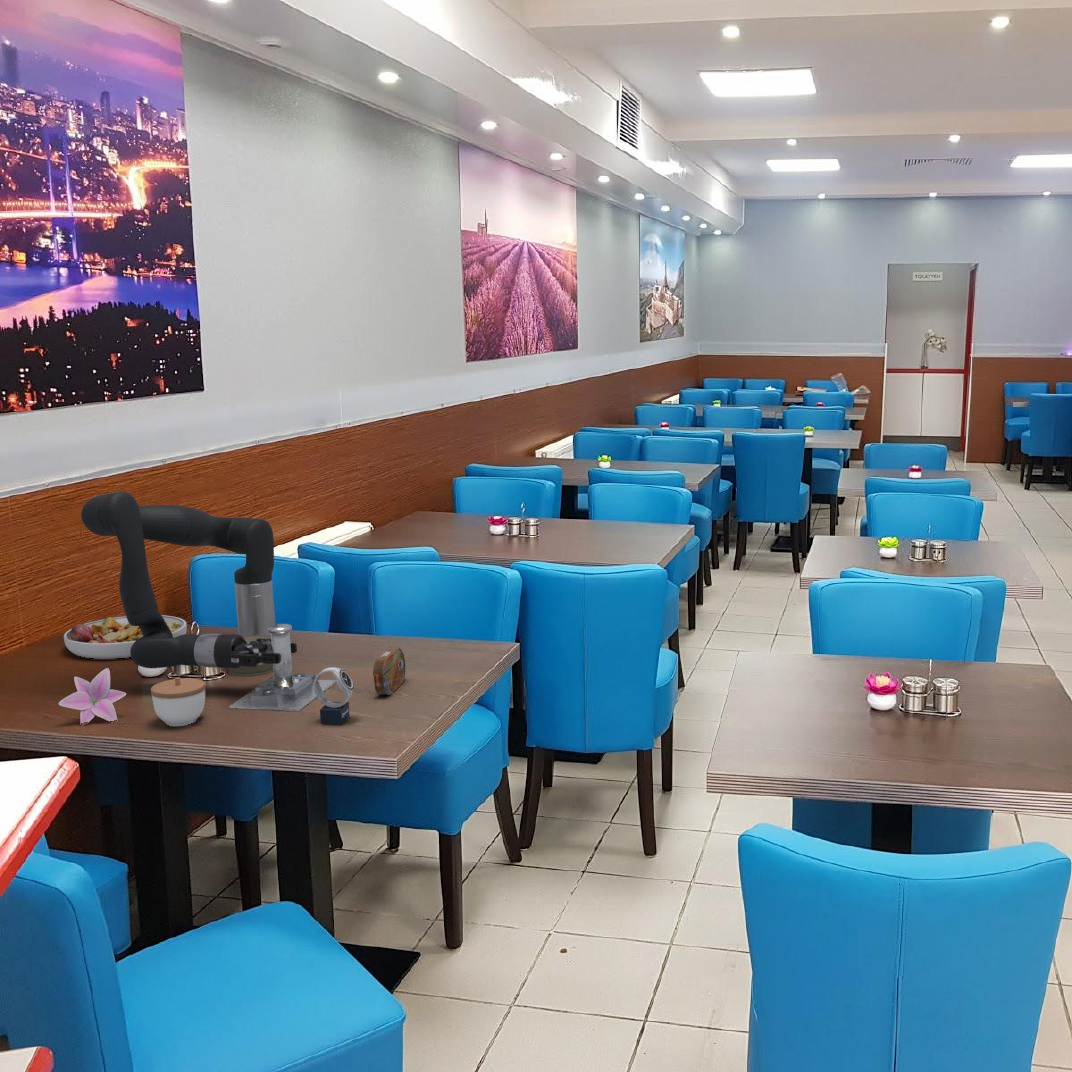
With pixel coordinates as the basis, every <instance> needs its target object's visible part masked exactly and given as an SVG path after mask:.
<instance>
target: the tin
mask: <svg viewBox="0 0 1072 1072" xmlns="http://www.w3.org/2000/svg"><path fill="white" fill-rule="evenodd" d="M404 654H405V653H404V652H403V650H402V649H401V648H400V647H397V648H389V649H387V650H386V651H384V652H383V653H382V654H381V655H380V656H379V657H378V658H376V660H375V661H374V663H373V668H372V669H373V670H372V675H373V682H374V683H373V684H374V690H375V692H376V694H378V695H380V696H392V695H393V694H394V693H395V692H396V691H395V690H396V689H397V688H398V687H399V688H400V686H402V685H403V684H404V682H405V677H406V659H405V655H404ZM399 688H398V689H399ZM398 689H397V690H398ZM394 691H395V692H394ZM392 693H393V694H392Z"/></svg>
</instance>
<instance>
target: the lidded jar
mask: <svg viewBox="0 0 1072 1072" xmlns="http://www.w3.org/2000/svg"><path fill="white" fill-rule="evenodd" d="M150 694H151V699H152V704H153V708H154V712H155V713H156V716H157V717H158V718H159V719H160V720H161V721H162V722H164V724H165V725H166V724H167V726H168V725H169V727H185V726H188V724H189V725H191V723H192V724H194V723H196V721H197V719H198V718H199V717H200V716H201V714H202V713H203V711H204V709H205V704H206V682H205V681H204V680H202V679H199V678H193V677H192V678H191V677H190V678H189V677H186V678H185V677H183V678H181V677H180V676H178V677H175V678H174V679H169V680H168V679H167V680H163V681H160V682H158V683H156V684H154V685H153V686H151V688H150ZM193 722H194V723H193Z"/></svg>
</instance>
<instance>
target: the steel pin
mask: <svg viewBox="0 0 1072 1072" xmlns="http://www.w3.org/2000/svg"><path fill="white" fill-rule="evenodd" d="M292 626H293V625H291V624H289V623H277V624H275V625H272V626H269V627H268V632H270V633H271V641H272V653H279V654H280V657H281V662H280V663H279V664H273V670H274V672H273V676H274V685H275V686H278V687H292V686H293V675H292V674H293V661H292V653H291V645H290V643H291V633H290V632H291V631H292V630H293V628H292Z"/></svg>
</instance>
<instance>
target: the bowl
mask: <svg viewBox="0 0 1072 1072" xmlns="http://www.w3.org/2000/svg"><path fill="white" fill-rule="evenodd" d="M161 615H162V617H163V618H164V620H165V622H166V624H167V625H168V627H169V629H170V631H171V633H172V635H173V638H174V637H177V636H180V635H184V634H187V629H188V626H187V621H186V620H185V619H183V618H180V617H178V616H177V617H176V616H173V615H172V616H171V615H164V614H161ZM143 636H144V635H143V633H142V631H141V629H140V627H139V626H132V625H130V624H129V622H128V620H127V617H126V615H125V616H117V617H111V616H109V617H107V618H104V619H103V618H102V619H99V620H95V621H90V622H87V623H78V624H74V625H73V626H72V628H70V629H69V630H67V631H66V632H65V633H64V634H63V640H64V645H65V647H66V648H67V650H69V651H70V653H72V654H74V655H75V656H77V657H80V656H81V658H84V657H85V659H89V658H94V659H93V660H117V659H116V658H125V659H130V658H129V657H131V655H130V650H131V647H132V645H133V643H134V642H135V641H136V640H137V639H139V638H141V637H143Z"/></svg>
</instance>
